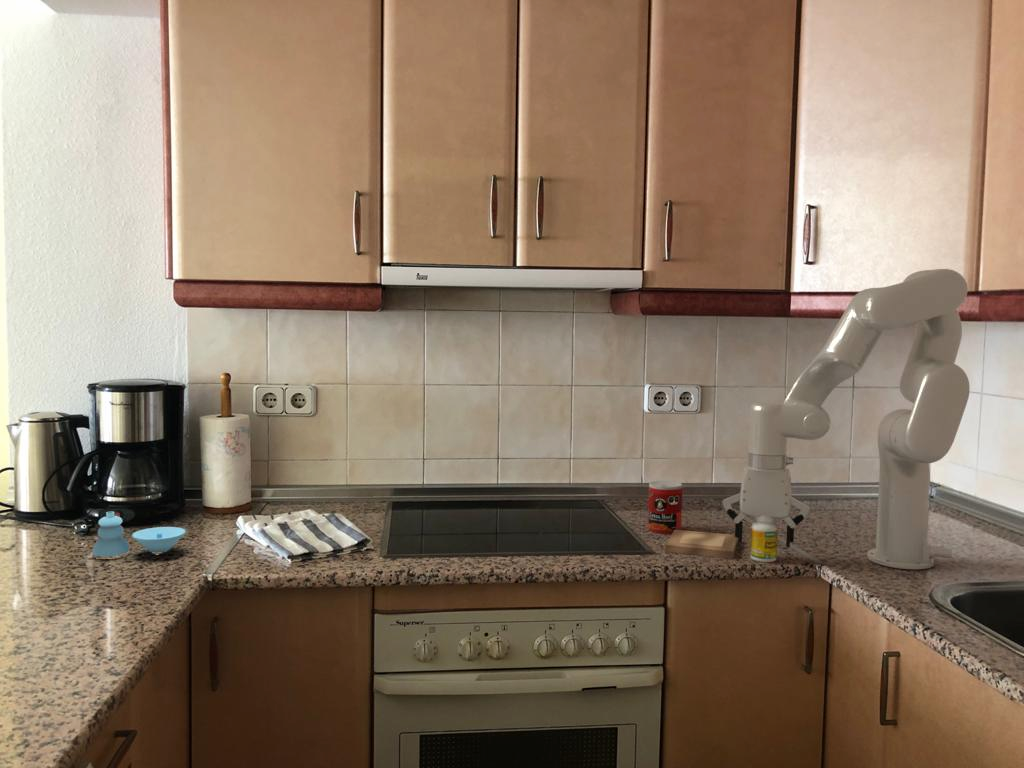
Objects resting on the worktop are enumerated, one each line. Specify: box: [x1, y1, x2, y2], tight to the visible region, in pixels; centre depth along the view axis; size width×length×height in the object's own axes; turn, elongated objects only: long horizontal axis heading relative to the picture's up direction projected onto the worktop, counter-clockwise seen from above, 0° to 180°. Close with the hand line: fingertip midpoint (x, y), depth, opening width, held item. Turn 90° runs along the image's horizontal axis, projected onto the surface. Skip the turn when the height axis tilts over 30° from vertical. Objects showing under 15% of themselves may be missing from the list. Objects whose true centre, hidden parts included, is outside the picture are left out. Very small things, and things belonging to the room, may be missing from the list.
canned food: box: [647, 480, 683, 535], centre depth 204 cm, size 8×8×11 cm
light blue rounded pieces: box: [92, 511, 187, 557], centre depth 179 cm, size 18×10×9 cm, turn 100°
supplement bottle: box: [749, 516, 779, 563], centre depth 181 cm, size 5×5×10 cm
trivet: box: [665, 529, 739, 559], centre depth 190 cm, size 14×14×2 cm
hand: (763, 543), depth 181 cm, fingers open, 9 cm apart
